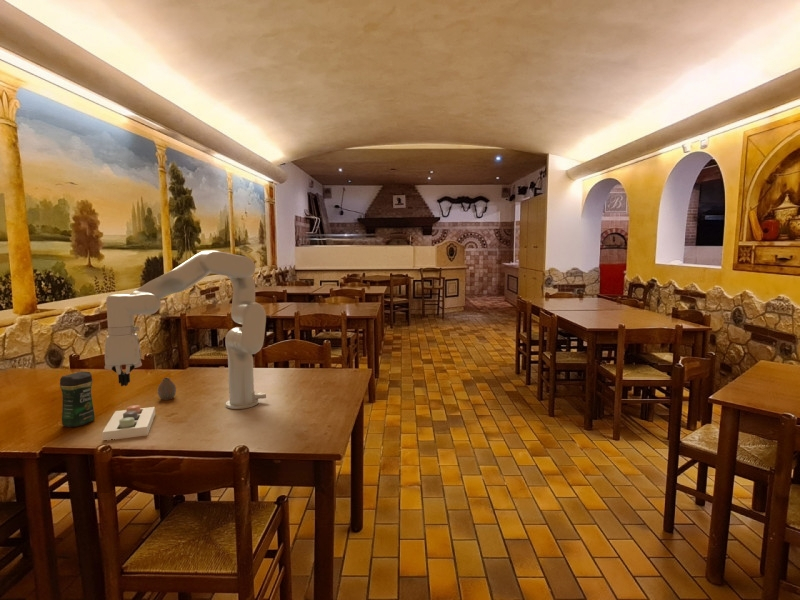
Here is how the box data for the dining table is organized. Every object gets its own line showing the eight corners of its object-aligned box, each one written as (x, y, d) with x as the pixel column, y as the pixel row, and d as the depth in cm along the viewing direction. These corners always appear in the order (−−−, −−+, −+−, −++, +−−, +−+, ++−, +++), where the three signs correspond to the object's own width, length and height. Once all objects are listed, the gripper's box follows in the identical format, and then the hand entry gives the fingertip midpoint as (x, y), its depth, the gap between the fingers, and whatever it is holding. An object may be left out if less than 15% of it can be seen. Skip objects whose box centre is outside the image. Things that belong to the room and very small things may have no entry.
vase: (168, 401, 192) (167, 381, 191) (154, 400, 193) (153, 380, 193) (180, 396, 199) (179, 376, 198) (165, 395, 200) (164, 375, 199)
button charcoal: (138, 418, 167) (138, 410, 167) (136, 422, 163) (136, 414, 162) (124, 420, 165) (124, 411, 165) (122, 424, 161) (121, 415, 161)
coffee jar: (76, 429, 162) (72, 377, 160) (57, 427, 164) (54, 375, 162) (99, 419, 171) (96, 370, 170) (82, 417, 173) (78, 369, 171)
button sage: (135, 425, 160) (135, 416, 160) (133, 429, 156) (133, 420, 156) (121, 426, 159) (120, 418, 158) (118, 431, 155) (118, 422, 154)
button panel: (155, 414, 177) (154, 406, 176) (147, 435, 156) (147, 426, 156) (115, 418, 172) (115, 411, 172) (102, 441, 152) (102, 432, 151)
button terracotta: (141, 412, 173) (141, 404, 173) (139, 416, 169) (139, 408, 169) (128, 413, 172) (127, 405, 171) (126, 417, 168) (125, 409, 167)
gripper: (148, 328, 160) (151, 380, 162) (97, 330, 155) (101, 384, 157) (145, 331, 154) (148, 385, 155) (92, 334, 148) (96, 390, 150)
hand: (124, 384), depth 156 cm, fingers closed
